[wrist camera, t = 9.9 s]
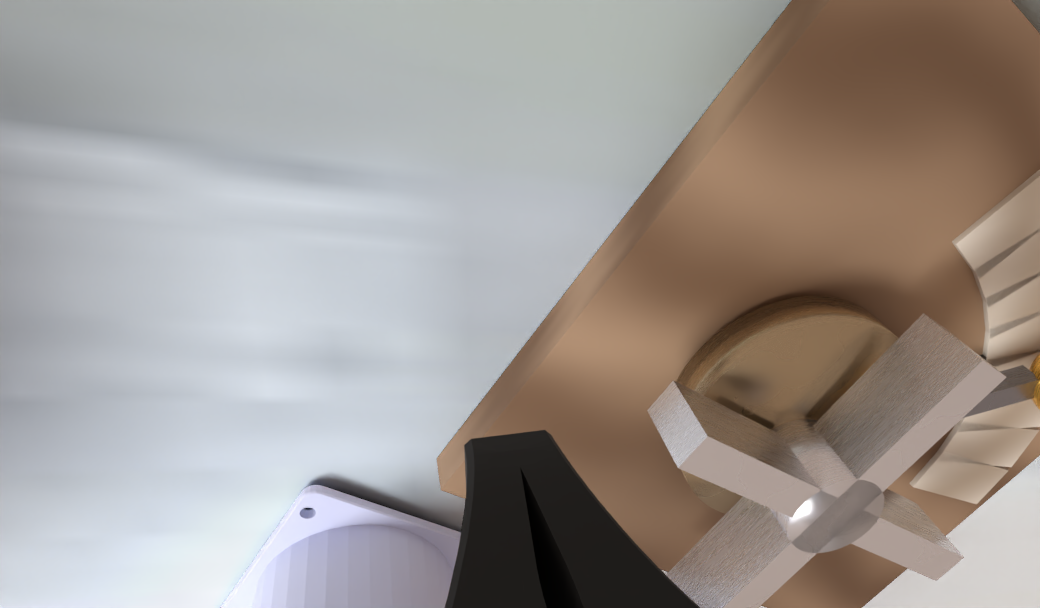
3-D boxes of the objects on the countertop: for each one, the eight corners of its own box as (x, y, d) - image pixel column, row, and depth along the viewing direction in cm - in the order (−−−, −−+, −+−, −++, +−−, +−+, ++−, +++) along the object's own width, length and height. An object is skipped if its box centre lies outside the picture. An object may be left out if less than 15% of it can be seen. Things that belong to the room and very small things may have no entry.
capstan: (807, 594, 31) (866, 689, 27) (529, 491, 24) (558, 597, 21) (1092, 336, 26) (1208, 411, 22) (835, 125, 20) (941, 182, 16)
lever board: (816, 603, 34) (835, 635, 33) (436, 458, 25) (441, 494, 24) (1207, 257, 27) (1254, 278, 26) (878, -112, 18) (922, -110, 17)
